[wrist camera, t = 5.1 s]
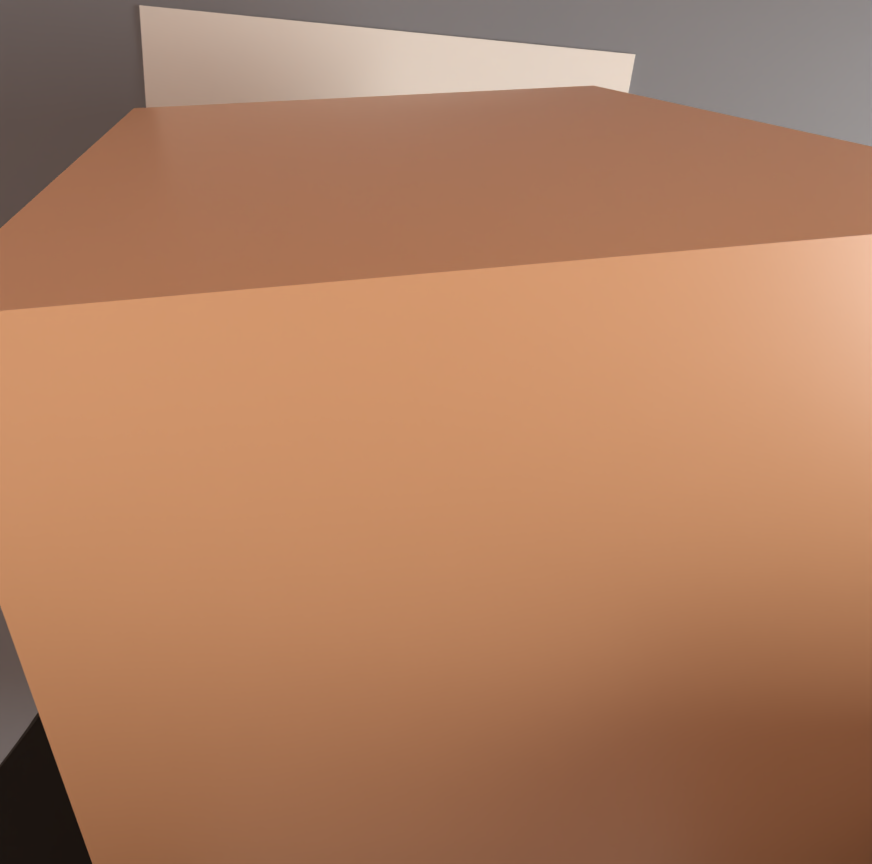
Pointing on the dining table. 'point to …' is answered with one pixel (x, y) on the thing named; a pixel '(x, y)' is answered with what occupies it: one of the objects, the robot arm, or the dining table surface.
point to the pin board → (402, 79)
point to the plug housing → (446, 482)
